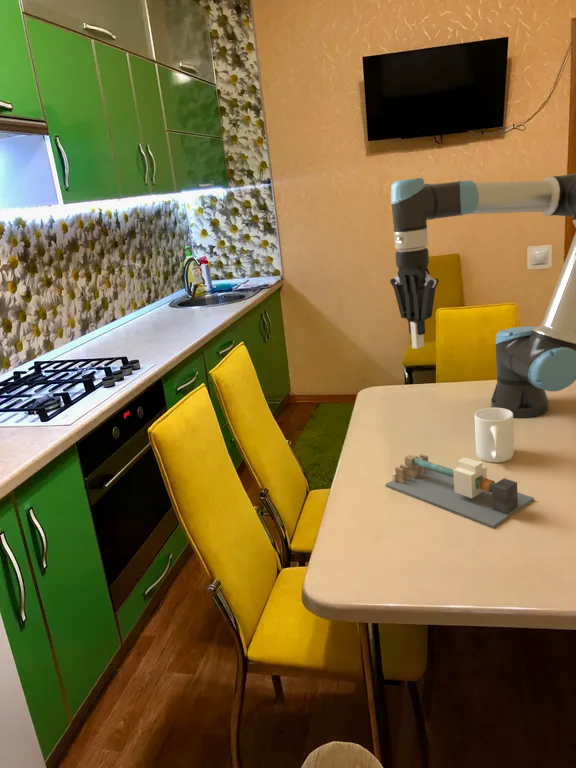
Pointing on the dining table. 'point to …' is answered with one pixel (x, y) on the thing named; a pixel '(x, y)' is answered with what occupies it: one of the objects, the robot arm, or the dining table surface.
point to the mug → (494, 434)
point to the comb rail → (501, 491)
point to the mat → (455, 498)
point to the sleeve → (468, 477)
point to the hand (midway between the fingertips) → (418, 346)
